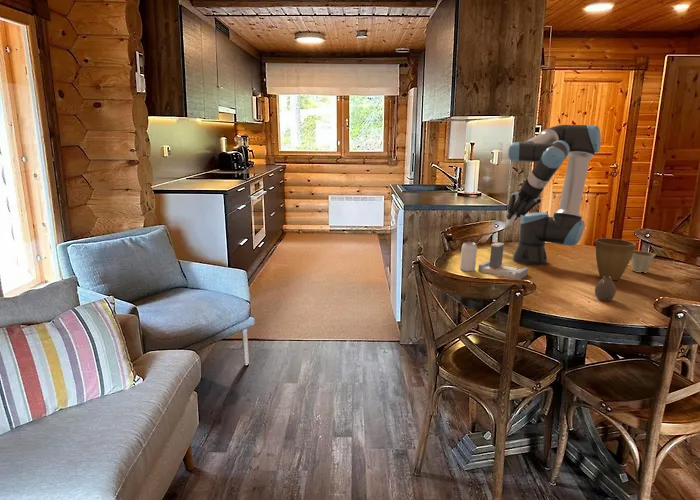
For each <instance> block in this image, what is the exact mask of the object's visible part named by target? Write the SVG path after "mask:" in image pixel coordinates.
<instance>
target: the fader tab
mask: <svg viewBox="0 0 700 500" xmlns="http://www.w3.org/2000/svg"><path fill="white" fill-rule="evenodd" d="M504 245H505V243H503V242H494V243H491V244H490V246H491V247H490V257H489V258H490V259H489V261H490V266H489V267H492V268H498V267H500V266H502V265H503V255H504V247H505V246H504Z"/></svg>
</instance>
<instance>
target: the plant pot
mask: <svg viewBox="0 0 700 500" xmlns="http://www.w3.org/2000/svg"><path fill="white" fill-rule="evenodd" d="M636 245H637V244H636V243H635V242H633V241H629V240H624V239H617V238H608V237H607V238H604V237H603V238H601V237H600V238H596V239H595V257H596V264H597V265H596V266H597V270H598V275H599V278H601V279H602V278H603V277H604V276H609V277H611V279H612V280H617V281H620V279H621V277H622V276H623V274H624V273H625V271H626V269H627V267H628V265H629V263H630V261H631V260H632V254H633V252H634V251H635V248H636Z"/></svg>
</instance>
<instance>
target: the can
mask: <svg viewBox="0 0 700 500" xmlns="http://www.w3.org/2000/svg"><path fill="white" fill-rule="evenodd" d="M477 253H478V246H477V243H476V242H473V241H463V244H462V245H461V253H460V265H459V269H460V270H461V271H462V272H467V271H472V272H474V271H475V270H476V266H477V265H476V264H477V263H476V262H477Z"/></svg>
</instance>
